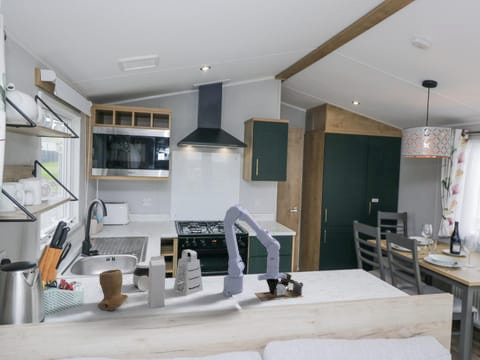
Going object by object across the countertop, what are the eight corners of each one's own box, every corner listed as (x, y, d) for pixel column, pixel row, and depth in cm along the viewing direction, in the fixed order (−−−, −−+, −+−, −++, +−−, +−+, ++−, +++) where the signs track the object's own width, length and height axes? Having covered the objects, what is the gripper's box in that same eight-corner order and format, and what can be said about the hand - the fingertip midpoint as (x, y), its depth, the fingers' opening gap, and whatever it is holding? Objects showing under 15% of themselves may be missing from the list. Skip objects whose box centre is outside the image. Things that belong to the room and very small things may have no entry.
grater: (186, 295, 159) (187, 254, 158) (173, 289, 166) (174, 250, 165) (202, 290, 166) (204, 251, 166) (189, 284, 174) (190, 247, 173)
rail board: (261, 303, 152) (262, 290, 152) (254, 295, 162) (254, 283, 162) (303, 299, 160) (304, 286, 159) (293, 291, 169) (294, 279, 169)
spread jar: (146, 281, 176) (147, 260, 175) (160, 286, 169) (161, 264, 169) (127, 287, 166) (127, 265, 166) (141, 293, 160) (142, 269, 159)
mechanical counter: (284, 271, 185) (276, 271, 177) (305, 274, 178) (298, 274, 170) (283, 284, 184) (275, 285, 176) (305, 287, 177) (297, 288, 169)
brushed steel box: (278, 298, 156) (278, 290, 156) (272, 292, 162) (272, 284, 162) (292, 296, 158) (292, 288, 158) (285, 291, 165) (285, 283, 164)
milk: (148, 303, 149) (149, 255, 148) (161, 301, 151) (162, 253, 151) (150, 308, 143) (152, 258, 142) (164, 306, 146) (165, 257, 145)
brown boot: (106, 297, 154) (107, 265, 153) (131, 298, 153) (131, 266, 152) (89, 311, 139) (90, 276, 138) (116, 312, 138) (117, 277, 137)
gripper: (262, 269, 153) (261, 298, 153) (290, 267, 157) (288, 295, 158) (256, 265, 159) (255, 292, 160) (283, 263, 164) (282, 290, 165)
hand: (271, 293), depth 159 cm, fingers closed
